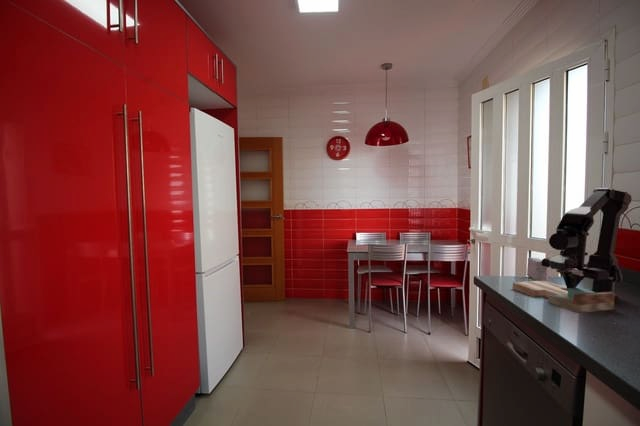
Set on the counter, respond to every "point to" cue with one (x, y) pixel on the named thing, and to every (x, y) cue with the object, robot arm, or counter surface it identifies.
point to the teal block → (577, 291)
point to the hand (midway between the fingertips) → (570, 292)
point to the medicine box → (536, 269)
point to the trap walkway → (560, 296)
